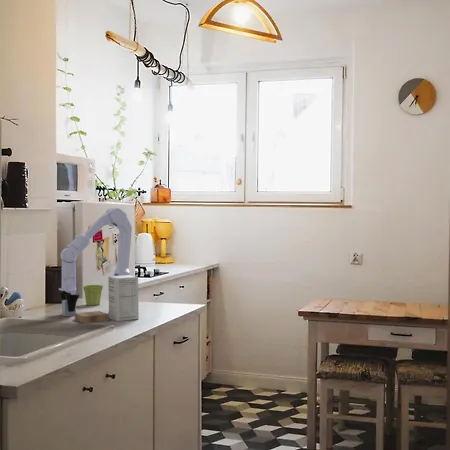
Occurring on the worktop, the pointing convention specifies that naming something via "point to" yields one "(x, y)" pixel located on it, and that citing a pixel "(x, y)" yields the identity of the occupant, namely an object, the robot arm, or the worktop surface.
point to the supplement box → (123, 297)
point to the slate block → (65, 309)
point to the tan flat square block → (91, 317)
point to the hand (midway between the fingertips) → (68, 310)
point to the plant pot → (93, 294)
